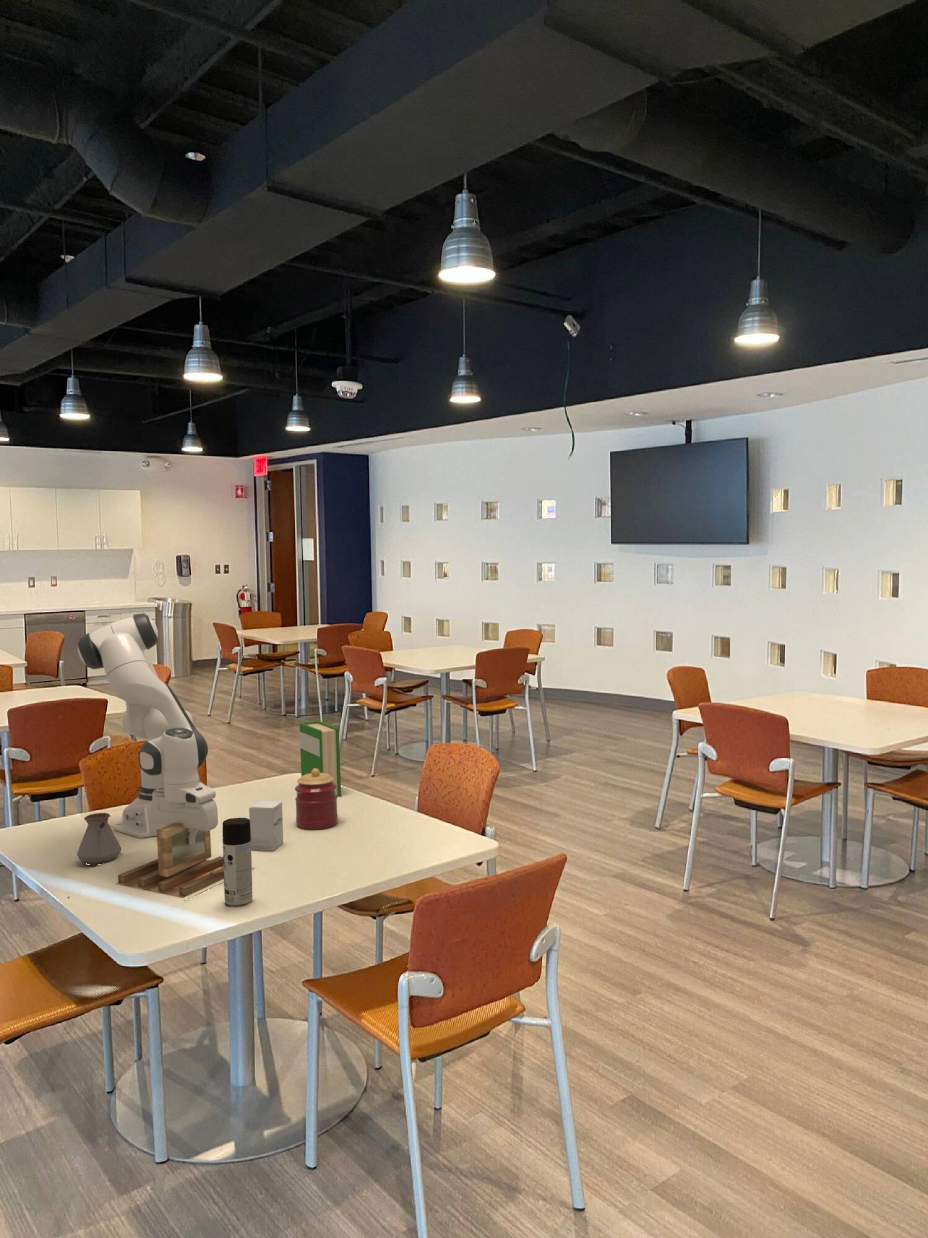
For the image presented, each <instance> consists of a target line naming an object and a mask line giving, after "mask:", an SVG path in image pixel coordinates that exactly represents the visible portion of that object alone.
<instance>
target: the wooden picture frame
mask: <svg viewBox="0 0 928 1238" xmlns="http://www.w3.org/2000/svg"><path fill="white" fill-rule="evenodd" d="M156 831H157V836H156V845H157V847H156V848H157V849H156V850H157V859H158V869H159V876H164V877H169V876H171V875H173V874H176V873H178V872H180V871H182V870H184V869H186V868H189V867H191V866H193V865H195V864H197V863H199V862H202V861H204V860H209V858H212V841H211V840H212V839H211V830H210V831H201V830H198V832H197V834H196V836H195V843H194V844H192V845H189V844H186V842H187V841H186V838H187V837H189V835H190V832H189V831H188V828H184V827H183V824H182V823H175V822H174V823H171V824H169V825H166V826H164V827H161V828H159V829H156Z"/></svg>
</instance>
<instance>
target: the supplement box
mask: <svg viewBox="0 0 928 1238" xmlns="http://www.w3.org/2000/svg"><path fill="white" fill-rule="evenodd" d="M248 810H249V814H248V815H249V820H250V829H251V851H262V852H274V851H276V849H277V848H279V847H280V846H281V845H283V844H284V824H283V823H284V821H283V818H284V817H283V801H281V800H280V801H278V800H259V801H257V802H256V803H254V804H253V805H251V806H249V807H248Z"/></svg>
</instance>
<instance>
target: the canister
mask: <svg viewBox="0 0 928 1238" xmlns="http://www.w3.org/2000/svg"><path fill="white" fill-rule="evenodd" d="M333 780H334V778H333V777H332V776H330V775H329V774H326V773H320V771H319V770H318V769H316V768H315V769H313V770H312V771H311V773H310V774H306V775H303V776H302V777H301V776H300V778H297V783H298V785H296V786H295V787H294V791H295V792H296V797H295V799H294V800H295V813H296V814H295V815H296V817H295V822H296V826H297V827H298V828H300V829H302V830H311V831H313V830H314V831H316V830H324V829H329V828H332V827H334V826H336V825H337V824H338V820H339V817H338V816H339V815H338V796H337V795H336V792H335V789H336V788H337V785H336V784H335V783H333Z"/></svg>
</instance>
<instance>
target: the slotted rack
mask: <svg viewBox="0 0 928 1238" xmlns="http://www.w3.org/2000/svg"><path fill="white" fill-rule="evenodd" d="M117 879H118V882H117V883H115V885H116V886H117V885H118V886H122V887H126V888H127V887H128V888H133V889H138V890H142V891H147V892H152V893H156V894H162V895H164V896H165V895H167V896H169V897H170V896H171V897H176V898H180V899H181V898H182V899H184V898H186V897H188V896H190V895H192V894H194V897H196V896H198V895H200V894H203V893H205V892H207V891H209V890H211V889H213V888H214V887H215V888H216V887H217V886H219V885H221V884H224V881H222V880H224V866H223V856H220V855H219V856H217V857H215V858H212V859H206V860H204V861H202V862H199V863H197V864H195V865H193V866H191V867H189V868H186V869H184V870H182V871H180V872H178V873H176V874H173V875H171V876H169V877H164V876H159V869H158V858H157V859H154V860H152V861H149V862H146V863H143V864H142V865H140V866H137V867H135V868H132V869H129V870H127V871H125V872H122V873H120V874H118V875H117ZM219 881H222V882H220V883H218V882H219ZM216 883H218V884H216ZM213 884H216V885H214V886H211V885H213ZM209 886H211V887H210V888H208V887H209ZM205 888H207V889H205ZM202 889H205V890H203V891H202V892H199V893H197V894H195V893H196V892H198V891H201V890H202ZM208 889H209V890H208ZM204 891H205V892H204ZM191 897H192V896H191ZM191 897H188V898H187V899H188V900H190V899H192V898H191ZM189 898H190V899H189ZM185 900H186V899H184V900H183V901H184V902H186V901H185Z"/></svg>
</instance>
